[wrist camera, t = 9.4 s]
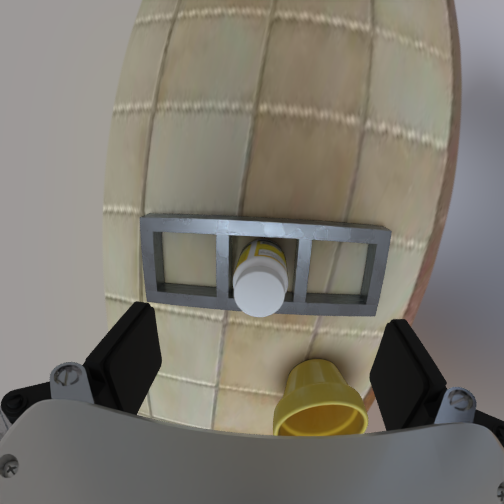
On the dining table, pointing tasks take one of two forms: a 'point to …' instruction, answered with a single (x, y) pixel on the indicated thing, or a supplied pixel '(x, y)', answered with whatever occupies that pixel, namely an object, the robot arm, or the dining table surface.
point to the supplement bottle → (260, 278)
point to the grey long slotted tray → (264, 227)
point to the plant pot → (319, 403)
